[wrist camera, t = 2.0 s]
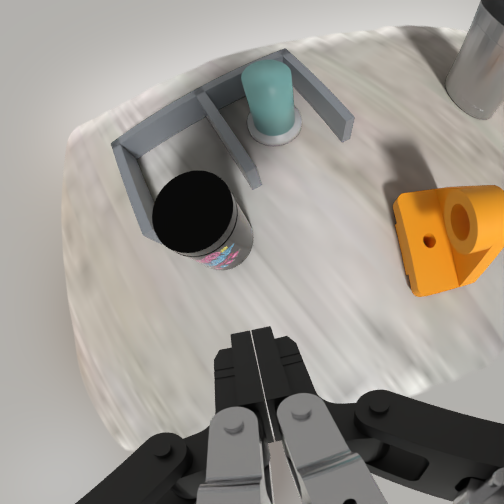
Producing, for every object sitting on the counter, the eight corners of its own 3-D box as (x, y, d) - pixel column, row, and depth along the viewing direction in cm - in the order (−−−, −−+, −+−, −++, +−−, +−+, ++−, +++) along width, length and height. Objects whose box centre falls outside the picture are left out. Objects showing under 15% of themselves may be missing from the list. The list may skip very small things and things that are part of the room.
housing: (349, 138, 32) (360, 90, 23) (161, 244, 33) (118, 223, 25) (287, 70, 36) (282, 22, 27) (127, 158, 37) (91, 125, 28)
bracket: (388, 203, 30) (427, 150, 18) (440, 195, 29) (489, 147, 18) (410, 299, 28) (466, 291, 16) (462, 284, 27) (527, 270, 15)
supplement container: (183, 243, 33) (137, 216, 23) (223, 199, 33) (193, 155, 23) (224, 284, 31) (189, 272, 21) (267, 237, 32) (252, 204, 21)
